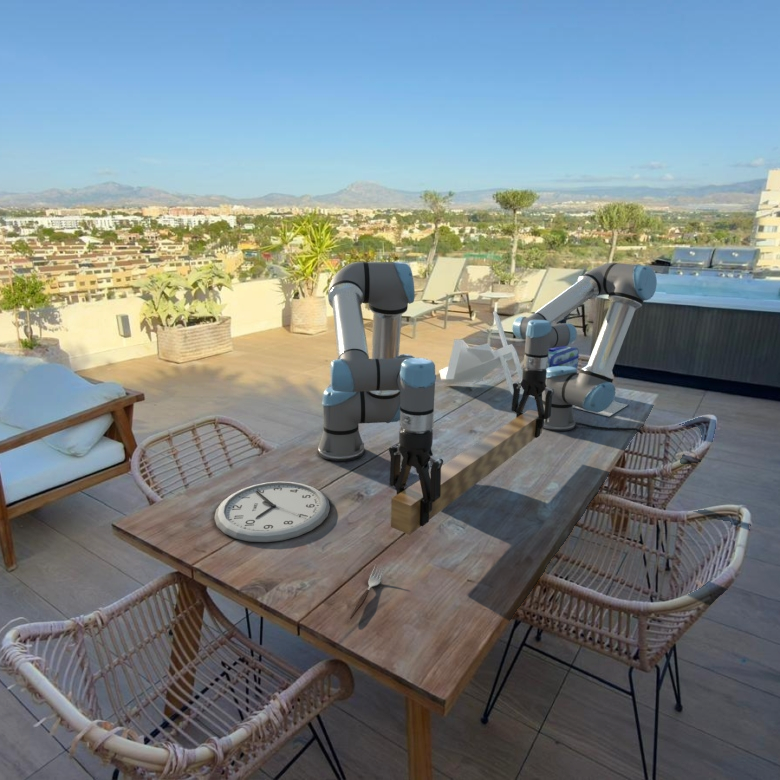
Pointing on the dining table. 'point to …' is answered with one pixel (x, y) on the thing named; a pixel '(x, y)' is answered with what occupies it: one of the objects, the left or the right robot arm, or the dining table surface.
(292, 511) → the wall clock
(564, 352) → the lunch box
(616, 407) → the invitation card
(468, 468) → the bar
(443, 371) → the white plastic object
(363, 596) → the fork
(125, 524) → the dining table surface
